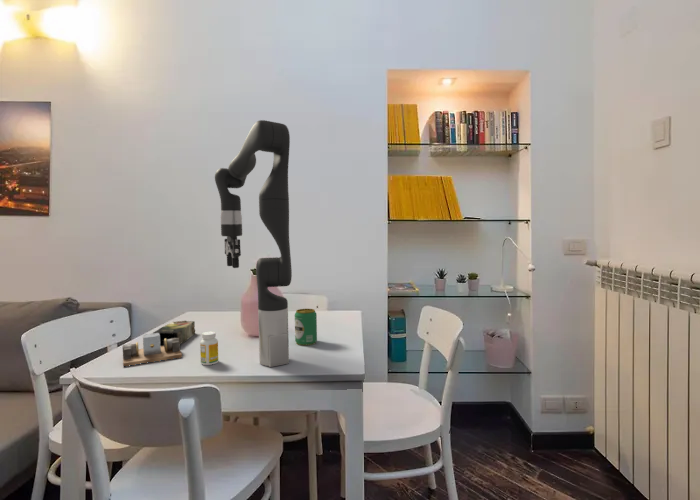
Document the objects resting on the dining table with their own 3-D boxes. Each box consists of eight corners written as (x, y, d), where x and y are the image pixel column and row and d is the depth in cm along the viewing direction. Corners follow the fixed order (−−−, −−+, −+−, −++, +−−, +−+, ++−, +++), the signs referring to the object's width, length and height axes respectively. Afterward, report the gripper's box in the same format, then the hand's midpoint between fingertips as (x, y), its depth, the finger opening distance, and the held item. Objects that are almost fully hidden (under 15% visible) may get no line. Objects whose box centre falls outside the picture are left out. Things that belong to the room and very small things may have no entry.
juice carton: (172, 333, 167) (171, 318, 166) (196, 333, 167) (196, 318, 167) (150, 349, 147) (150, 332, 146) (178, 348, 147) (178, 332, 147)
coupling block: (160, 353, 136) (160, 335, 136) (144, 356, 134) (143, 338, 134) (159, 349, 141) (158, 332, 140) (143, 352, 138) (142, 334, 138)
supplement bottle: (198, 366, 127) (197, 335, 127) (203, 360, 133) (202, 331, 132) (216, 365, 128) (215, 335, 127) (220, 359, 133) (219, 330, 132)
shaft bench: (176, 346, 148) (176, 332, 147) (182, 357, 135) (181, 341, 135) (123, 354, 139) (122, 339, 139) (123, 367, 127) (122, 350, 127)
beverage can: (290, 342, 151) (290, 310, 150) (307, 338, 156) (307, 307, 156) (304, 347, 145) (303, 313, 144) (321, 342, 151) (320, 310, 150)
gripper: (246, 223, 147) (248, 267, 148) (236, 223, 159) (238, 264, 160) (225, 223, 143) (227, 269, 144) (217, 223, 155) (218, 266, 156)
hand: (232, 266), depth 152 cm, fingers open, 8 cm apart
